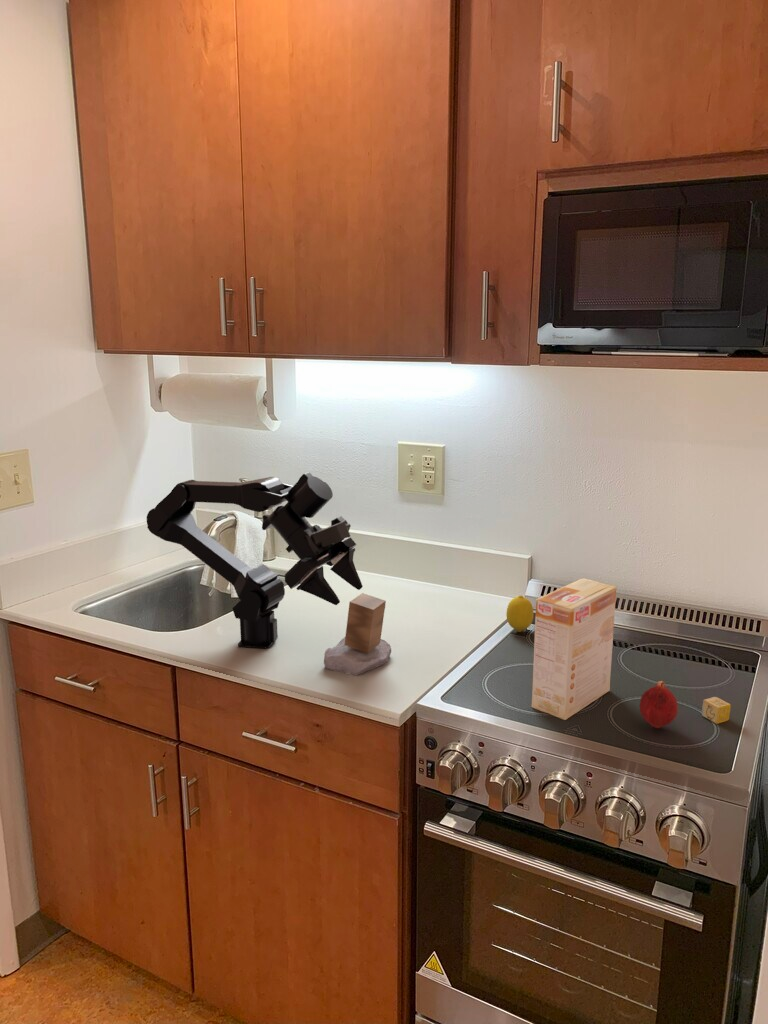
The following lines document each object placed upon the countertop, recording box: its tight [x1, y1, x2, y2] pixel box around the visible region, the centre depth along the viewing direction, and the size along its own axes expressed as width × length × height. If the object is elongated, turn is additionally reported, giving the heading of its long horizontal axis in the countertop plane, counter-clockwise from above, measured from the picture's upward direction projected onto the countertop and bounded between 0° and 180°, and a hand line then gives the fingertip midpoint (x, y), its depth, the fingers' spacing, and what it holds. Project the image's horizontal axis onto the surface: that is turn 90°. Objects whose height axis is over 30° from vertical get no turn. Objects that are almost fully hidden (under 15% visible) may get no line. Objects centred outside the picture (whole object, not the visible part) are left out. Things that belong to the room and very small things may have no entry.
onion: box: [639, 680, 679, 729], centre depth 129 cm, size 6×6×8 cm
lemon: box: [506, 594, 535, 633], centre depth 168 cm, size 6×6×8 cm
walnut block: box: [344, 592, 387, 653], centre depth 152 cm, size 5×5×9 cm
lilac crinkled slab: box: [323, 636, 392, 676], centre depth 155 cm, size 12×5×10 cm
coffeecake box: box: [531, 577, 618, 721], centre depth 138 cm, size 15×7×20 cm, turn 136°
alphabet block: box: [701, 696, 731, 725], centre depth 133 cm, size 3×3×3 cm
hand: (349, 595), depth 153 cm, fingers open, 9 cm apart
